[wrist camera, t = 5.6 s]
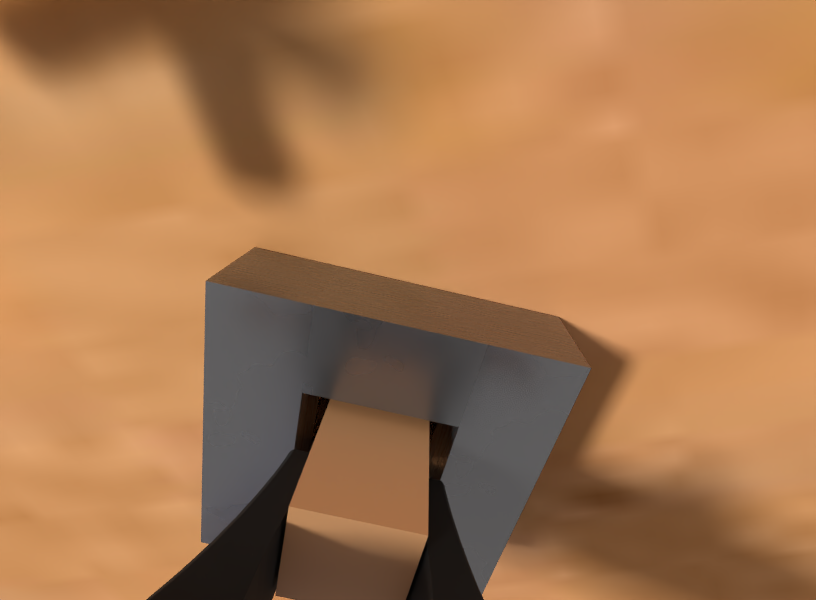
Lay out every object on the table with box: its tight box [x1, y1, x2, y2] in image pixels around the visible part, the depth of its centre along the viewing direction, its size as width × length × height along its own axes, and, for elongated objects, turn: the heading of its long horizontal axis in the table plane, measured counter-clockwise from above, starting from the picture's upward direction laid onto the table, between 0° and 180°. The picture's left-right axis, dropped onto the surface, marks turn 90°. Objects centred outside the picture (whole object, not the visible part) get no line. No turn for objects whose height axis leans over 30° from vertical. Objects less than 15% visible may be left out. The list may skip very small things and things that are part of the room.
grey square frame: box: [201, 247, 591, 595], centre depth 14 cm, size 10×10×3 cm
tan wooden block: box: [275, 399, 429, 600], centre depth 12 cm, size 3×3×6 cm
